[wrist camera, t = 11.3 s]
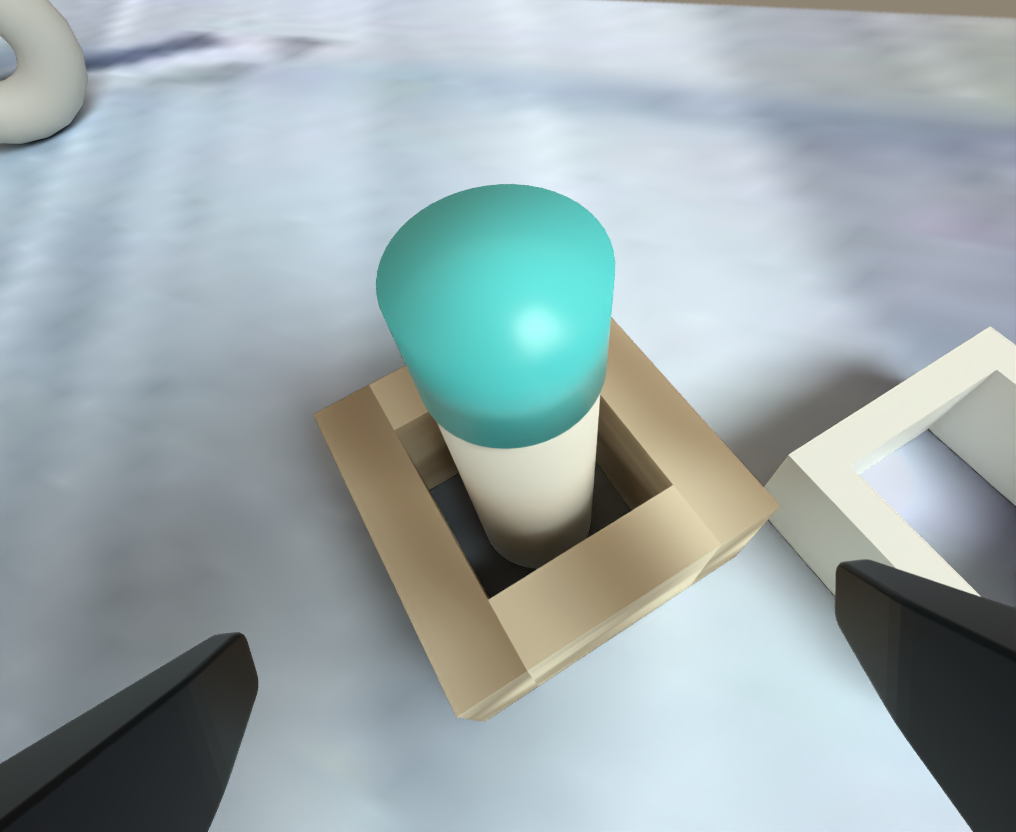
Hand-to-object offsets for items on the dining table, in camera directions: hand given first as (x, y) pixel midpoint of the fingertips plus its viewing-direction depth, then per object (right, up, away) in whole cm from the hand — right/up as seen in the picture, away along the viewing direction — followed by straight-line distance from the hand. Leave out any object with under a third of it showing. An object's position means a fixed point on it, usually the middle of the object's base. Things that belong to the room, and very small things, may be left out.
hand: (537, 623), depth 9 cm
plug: (+1, -1, +13) cm, 13 cm away
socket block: (+1, 0, +13) cm, 13 cm away
